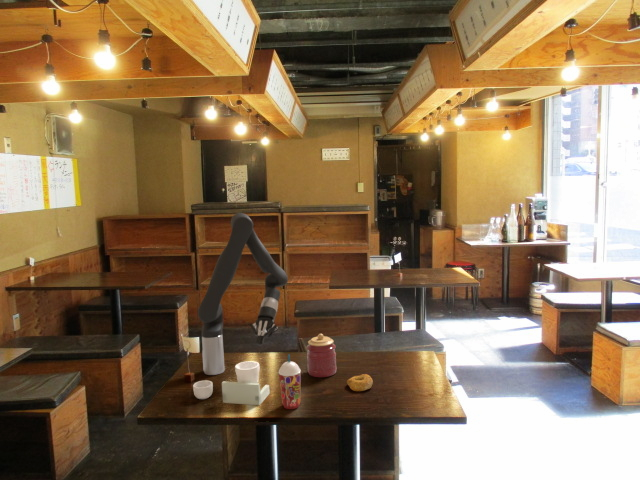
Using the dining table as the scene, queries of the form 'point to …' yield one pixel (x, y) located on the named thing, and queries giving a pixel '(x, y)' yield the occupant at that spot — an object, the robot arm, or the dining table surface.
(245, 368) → the foam cup
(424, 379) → the dining table surface
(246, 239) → the robot arm
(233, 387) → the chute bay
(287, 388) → the smoothie
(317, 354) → the canister
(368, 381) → the bagel
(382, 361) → the dining table surface
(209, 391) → the teacup
